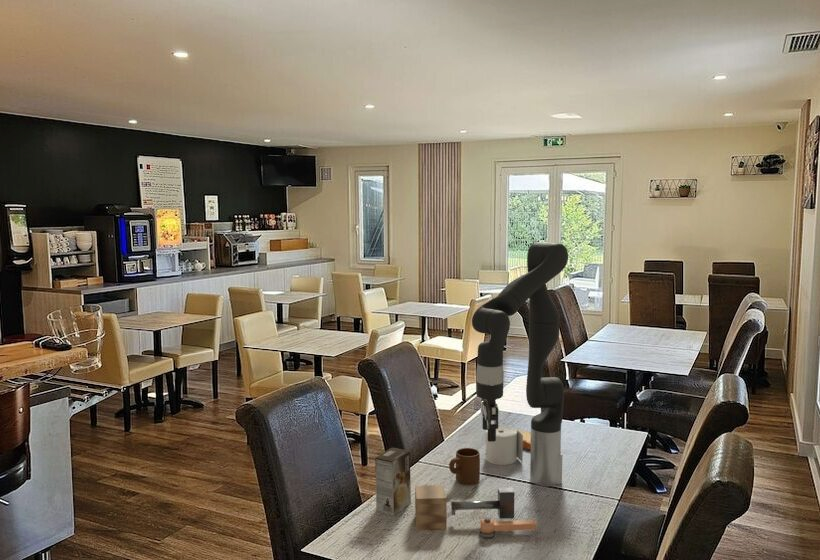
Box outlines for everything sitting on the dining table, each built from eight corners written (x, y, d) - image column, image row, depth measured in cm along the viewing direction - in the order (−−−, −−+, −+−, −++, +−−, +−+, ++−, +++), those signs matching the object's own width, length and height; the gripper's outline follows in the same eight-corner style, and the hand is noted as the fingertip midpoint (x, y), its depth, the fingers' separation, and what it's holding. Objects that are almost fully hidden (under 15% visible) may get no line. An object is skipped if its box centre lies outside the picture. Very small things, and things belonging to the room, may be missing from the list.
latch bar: (536, 531, 165) (537, 520, 165) (481, 533, 164) (481, 522, 164) (533, 524, 169) (533, 514, 168) (479, 526, 168) (479, 516, 168)
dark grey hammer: (511, 513, 175) (512, 487, 174) (514, 518, 172) (514, 492, 171) (450, 514, 174) (450, 488, 173) (452, 520, 171) (452, 493, 171)
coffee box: (393, 498, 188) (392, 446, 186) (411, 503, 185) (411, 450, 183) (375, 510, 180) (374, 456, 178) (394, 516, 177) (393, 461, 175)
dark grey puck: (494, 530, 169) (494, 526, 169) (497, 538, 164) (497, 535, 164) (477, 530, 168) (477, 527, 168) (480, 539, 164) (480, 535, 164)
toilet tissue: (484, 453, 222) (484, 425, 221) (518, 453, 222) (518, 425, 221) (486, 465, 211) (487, 436, 210) (522, 465, 211) (523, 436, 210)
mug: (459, 492, 191) (459, 462, 190) (441, 484, 197) (441, 455, 196) (484, 480, 199) (484, 452, 198) (466, 473, 205) (466, 445, 204)
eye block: (443, 515, 177) (443, 485, 176) (446, 530, 169) (446, 498, 168) (415, 516, 177) (415, 485, 176) (416, 530, 169) (416, 498, 168)
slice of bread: (498, 432, 243) (498, 423, 243) (546, 435, 239) (546, 426, 239) (495, 450, 226) (495, 440, 225) (546, 453, 222) (546, 443, 222)
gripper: (472, 372, 183) (472, 426, 185) (480, 387, 169) (479, 445, 171) (498, 372, 183) (497, 425, 185) (508, 387, 169) (507, 444, 171)
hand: (488, 435), depth 178 cm, fingers open, 8 cm apart
